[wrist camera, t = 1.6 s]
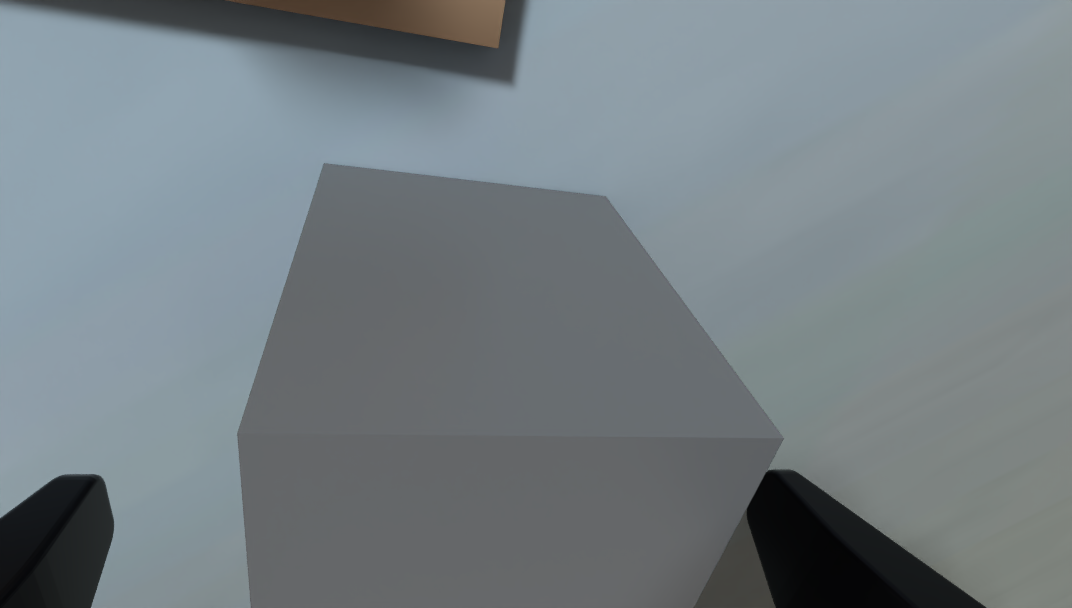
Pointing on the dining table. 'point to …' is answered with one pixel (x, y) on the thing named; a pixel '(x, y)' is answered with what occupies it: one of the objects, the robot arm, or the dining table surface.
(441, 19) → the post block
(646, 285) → the grey rectangular block
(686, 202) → the dining table surface
